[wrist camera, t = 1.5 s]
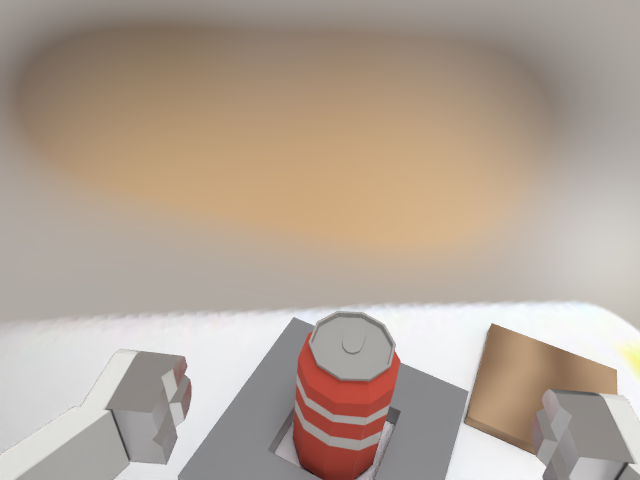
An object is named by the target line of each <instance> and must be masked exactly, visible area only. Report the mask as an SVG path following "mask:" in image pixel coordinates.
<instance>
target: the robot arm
mask: <svg viewBox="0 0 640 480" xmlns="http://www.w3.org/2000/svg"><path fill="white" fill-rule="evenodd" d="M186 368H187V363H186V360H185V357H184V356H178V355H169V354H161V353H153V352H144V351H134V350H125V349H120V350H118V351H117V352H116V353H115V354H114V355H113V356H112V358H111V359H110V361H109V362H108V364H107V366H106V367H105V369H104V370H103V372H102V373H101V375H100V377H99V378H98V380H97V381H96V383H95V384H94V386H93V388H92V389H91V391H90V392H89V394H88V395H87V397H86V399H85V400H84V402H83V403H82V405H81V406H80V407H73V408H71V409H69V410H68V411H66V412H65V413H63V414H62V415H60V416H59V417H57V418H56V419H54V420H53V421H51V422H50V423H48V424H46V425H45V426H43V427H42V428H40V429H39V430H37V431H36V432H34V433H33V434H31V435H30V436H28V437H27V438H25V439H23V440H22V441H20V442H19V443H17V444H16V445H14V446H13V447H11V448H10V449H8V450H7V451H5V452H4V453H2V454H1V455H0V480H113V479H114V478H115V477H116V476H118V475H119V474H120V473H121V472H122V471H123V470H124V469H125V468H126V467H127V466H128V465H129V464H130V463H129V462H141V463H153V464H165V465H167V462H168V460H169V458H170V455H171V453H172V450H173V448H174V445H175V443H176V440H177V438H178V437H177V433H176V429H175V427H177V426H178V425H179V424H180V423H182V422H183V421H184V420H185V418H186V415H187V412H188V410H189V405H190V400H191V382H190V379H189V378H188V377H187V376H186V375H184V373H185V371H186ZM542 403H543V406H544V408H543V409H541V410H540V411H538V412H536V414H535V417H534V419H533V422H532V441H533V447H534V450H535V454H536V457H537V458H538V459H539V460H540V461H541V462H542V463H543V464H544V465H545V466H546V467H547V468H546V470H545V472H544V474H543V476H542V477H543V480H640V421H639V419H638V417H637V416H636V414H635V412H634V410H633V408H632V406H631V405H630V403H629V401H628V399H626V398H625V397H624V396H623V395H613V394H602V393H594V392H582V391H570V390H557V389H548V390H547V391H546V392H545V393H544V395H543V398H542Z"/></svg>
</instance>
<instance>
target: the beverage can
mask: <svg viewBox="0 0 640 480" xmlns="http://www.w3.org/2000/svg"><path fill="white" fill-rule="evenodd" d="M395 345H396V344H395V342H394V340H393V339H392V337H391V335H390V333H389V332H388V330H387V328H386V326H385V324H383V323H381V322H379V321H377V320H376V319H374V318H372V317H370V316H368V315H367V314H365V313H363V312H344V311H337V312H335V313H333V314H331V315H329V316H327V317H325V318H323V319H321V320H320V321H318V322H317V323H316V325H315V328H314V330H313V331H312V332H310V333H309V334H308V336H307V338H306V340H305V343H304V345H303V347H302V350H301V352H300V354H299V357H298V366H297V382H296V399H295V415H294V431H293V440H294V443H295V446H296V450H297V453H298V456H299V460H300V463H301V464H302V465H303V466H305V467H306V468H307V469H309V470H310V471H311V472H313V473H314V474H315V475H317V476H318V477H319V478H320V479H322V480H353V479H355V478H356V477H357V476H359V475H360V474H361V473H362V472H364V471H365V470H366V469H368V468H369V467H370V466H372V464H373V461H374V457H375V454H376V450H377V447H378V443H379V440H380V437H381V433H382V430H383V426H384V423H385V419H386V416H387V413H388V409H389V406H390V402H391V399H392V395H393V392H394V388H395V384H396V380H397V375H398V370H399V366H400V359H399V358H398V356H397V354H396V352H395Z"/></svg>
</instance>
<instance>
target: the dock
mask: <svg viewBox="0 0 640 480" xmlns="http://www.w3.org/2000/svg"><path fill="white" fill-rule="evenodd" d="M314 328H315V326H313V325H311V324H309V323H306V322H304V321H302V320H299V319H297V318H295V317H293V319H292V320H291V322H290V323H289V324H288V326H287V327H286V328H285V330H284V331H283V333H282V334H281V335H280V337H279V338H278V339H277V341H276V342H275V344H274V345H273V346H272V348H271V349H270V350H269V352H268V353H267V354H266V356H265V357H264V359H263V360H262V361H261V363H260V364H259V365H258V367H257V368H256V370H255V371H254V372H253V374H252V375H251V376H250V378H249V379H248V381H247V382H246V383H245V385H244V386H243V387H242V389H241V390H240V392H239V393H238V394H237V396H236V397H235V398H234V400H233V401H232V402H231V404H230V405H229V407H228V408H227V409H226V411H225V412H224V413H223V415H222V416H221V418H220V419H219V420H218V422H217V423H216V424H215V426H214V427H213V429H212V430H211V431H210V433H209V434H208V435H207V437H206V438H205V440H204V441H203V442H202V444H201V445H200V446H199V448H198V449H197V450H196V452H195V453H194V455H193V456H192V457H191V459H190V460H189V461H188V463H187V464H186V466H185V467H184V468H183V470H182V471H181V472H180V474H179V475H178V480H322V479H320V478H318V477H317V476H315V475H313V474H311V473H309V472H307V471H305V470H303V469H302V468H300V467H298V466H296V465H294V464H292V463H290V462H288V461H287V460H285V459H283V458H281V457H279V456H277V455H275V454H274V452H275V450H276V449H277V447H278V445H279V443H280V442H281V440H282V438H283V437H284V435H285V433H286V432H287V430H288V428H289V426H290V425H291V423H292V421H293V420H294V415H295V399H296V382H297V366H298V357H299V354H300V352H301V350H302V347H303V345H304V343H305V340H306V338H307V336H308V334H309V333H310V332H312V331H313V330H314ZM467 396H468V391H466V390H464V389H461V388H459V387H457V386H454V385H452V384H450V383H447V382H445V381H443V380H440V379H438V378H436V377H433V376H431V375H428V374H426V373H424V372H421V371H419V370H417V369H414V368H412V367H410V366H407V365H405V364H403V363H400V366H399V370H398V375H397V380H396V384H395V388H394V392H393V395H392V399H391V402H390V406H389V409H388V413H387V416H386V419H385V420H387V421H389V422H391V423H393V424H395V428H394V431H393V433H392V436H391V438H390V441H389V443H388V446H387V448H386V451H385V454H384V456H383V459H382V461H381V464H380V466H379V469H378V471H377V474H376V477H375V479H374V480H445V477H446V473H447V469H448V466H449V462H450V458H451V455H452V451H453V447H454V444H455V440H456V436H457V433H458V429H459V425H460V422H461V418H462V414H463V410H464V407H465V403H466V399H467Z"/></svg>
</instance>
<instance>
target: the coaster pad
mask: <svg viewBox="0 0 640 480" xmlns="http://www.w3.org/2000/svg"><path fill="white" fill-rule="evenodd" d="M548 389H557V390H570V391H582V392H594V393H602V394H613V395H617V370H615V369H613V368H610V367H607V366H605V365H602V364H599V363H597V362H594V361H591V360H589V359H586V358H583V357H581V356H578V355H575V354H573V353H570V352H567V351H565V350H562V349H559V348H557V347H554V346H551V345H549V344H546V343H543V342H541V341H538V340H535V339H533V338H530V337H527V336H525V335H522V334H519V333H517V332H514V331H511V330H508V329H506V328H503V327H500V326H498V325H495V324H491V326H490V328H489V331H488V335H487V339H486V342H485V346H484V350H483V354H482V358H481V361H480V365H479V369H478V373H477V377H476V380H475V384H474V388H473V392H472V395H471V399H470V403H469V407H468V411H467V414H466V418H465V422H464V423H466V424H468V425H470V426H472V427H474V428H477V429H479V430H481V431H483V432H486V433H488V434H490V435H492V436H495V437H497V438H499V439H501V440H504V441H506V442H508V443H510V444H512V445H515V446H517V447H519V448H521V449H524V450H526V451H528V452H530V453H533V454H535V450H534V447H533V441H532V422H533V419H534V417H535V414H536V412H538V411H540V410H541V409H543V408H544V406H543V403H542V398H543V395H544V393H545V392H546V391H547V390H548ZM535 455H536V454H535Z"/></svg>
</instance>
